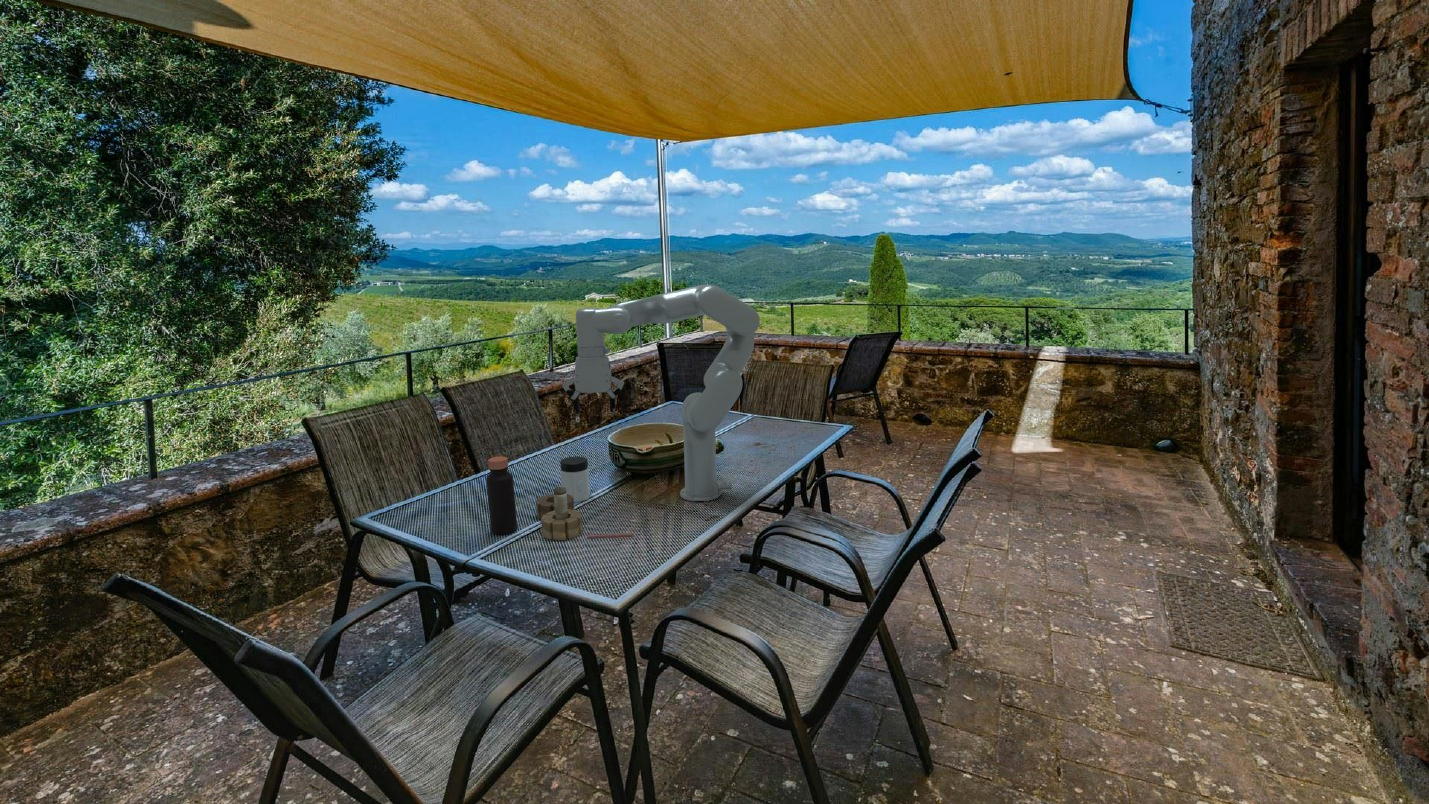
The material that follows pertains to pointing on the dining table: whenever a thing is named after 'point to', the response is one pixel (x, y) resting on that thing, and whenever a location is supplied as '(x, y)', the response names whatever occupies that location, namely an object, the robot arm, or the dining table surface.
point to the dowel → (560, 503)
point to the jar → (575, 477)
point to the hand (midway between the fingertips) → (594, 411)
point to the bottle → (501, 497)
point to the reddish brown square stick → (610, 535)
